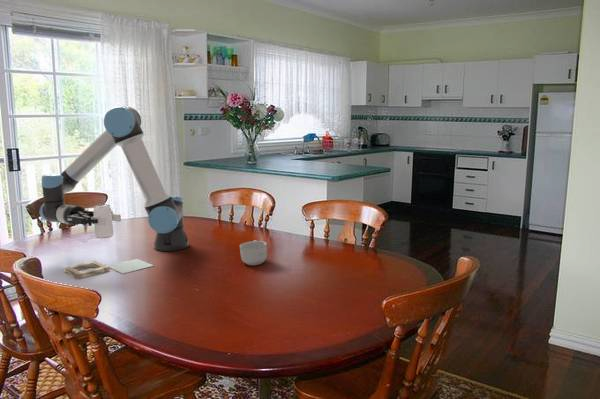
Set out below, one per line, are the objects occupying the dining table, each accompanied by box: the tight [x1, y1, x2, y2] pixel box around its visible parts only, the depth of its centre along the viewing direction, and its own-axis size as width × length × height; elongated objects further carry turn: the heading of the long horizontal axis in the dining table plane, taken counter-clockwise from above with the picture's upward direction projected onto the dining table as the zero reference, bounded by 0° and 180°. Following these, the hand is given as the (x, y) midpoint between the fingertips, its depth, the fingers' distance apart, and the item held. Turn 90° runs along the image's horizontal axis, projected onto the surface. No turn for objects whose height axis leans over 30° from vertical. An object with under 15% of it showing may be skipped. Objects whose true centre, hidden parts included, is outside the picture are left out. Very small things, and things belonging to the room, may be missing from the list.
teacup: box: [239, 239, 268, 266], centre depth 200 cm, size 14×11×8 cm
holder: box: [64, 260, 110, 279], centre depth 191 cm, size 12×12×2 cm
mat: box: [107, 258, 154, 275], centre depth 196 cm, size 13×13×1 cm
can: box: [92, 204, 114, 239], centre depth 190 cm, size 6×6×12 cm
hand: (112, 219), depth 188 cm, fingers closed on can, 6 cm apart
